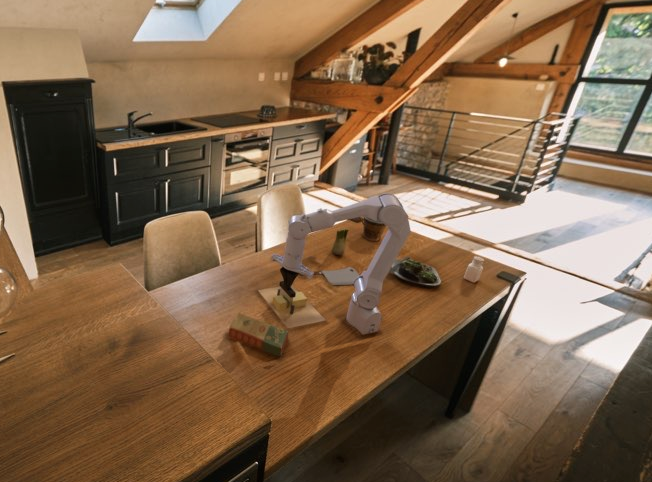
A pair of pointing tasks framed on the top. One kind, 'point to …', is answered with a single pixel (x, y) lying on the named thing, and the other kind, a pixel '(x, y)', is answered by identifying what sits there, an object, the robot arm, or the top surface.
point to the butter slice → (279, 303)
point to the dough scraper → (287, 293)
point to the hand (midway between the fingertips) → (287, 287)
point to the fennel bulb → (340, 242)
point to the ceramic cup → (373, 228)
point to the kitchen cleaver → (339, 276)
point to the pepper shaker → (474, 269)
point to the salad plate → (415, 273)
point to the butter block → (299, 300)
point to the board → (292, 310)
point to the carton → (258, 334)
